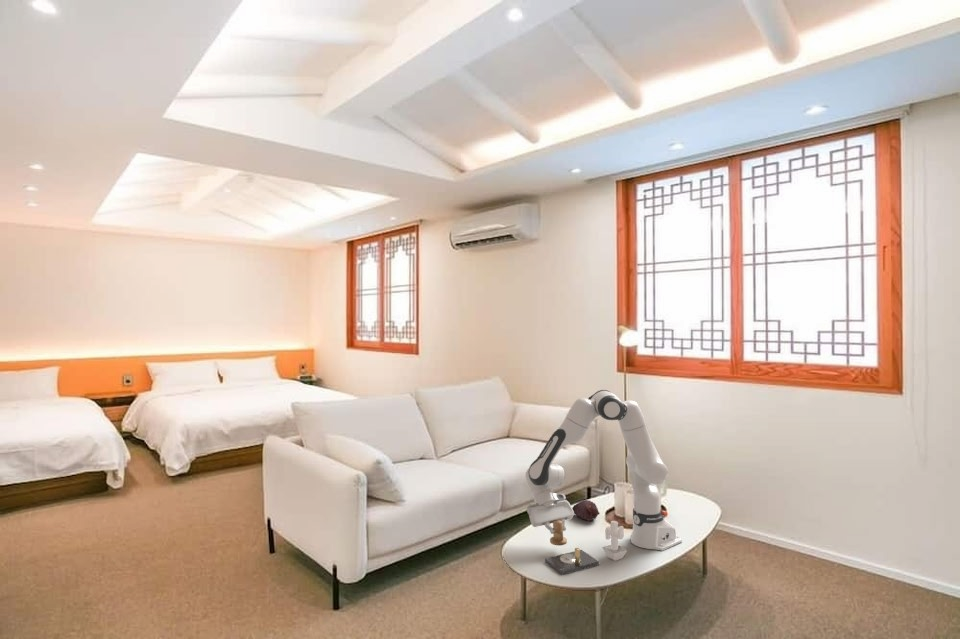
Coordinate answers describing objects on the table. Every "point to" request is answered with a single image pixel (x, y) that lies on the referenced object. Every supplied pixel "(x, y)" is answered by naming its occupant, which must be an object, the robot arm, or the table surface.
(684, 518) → the table surface
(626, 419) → the robot arm
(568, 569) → the base plate
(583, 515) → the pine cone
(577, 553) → the dowel
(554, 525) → the flange hub
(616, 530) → the figurine
